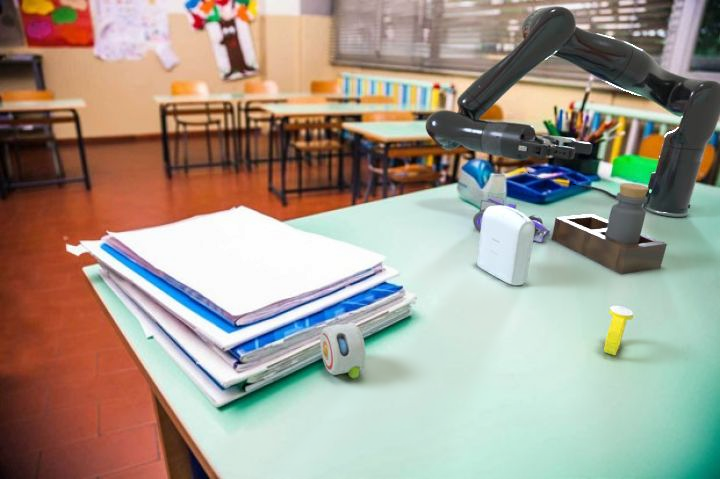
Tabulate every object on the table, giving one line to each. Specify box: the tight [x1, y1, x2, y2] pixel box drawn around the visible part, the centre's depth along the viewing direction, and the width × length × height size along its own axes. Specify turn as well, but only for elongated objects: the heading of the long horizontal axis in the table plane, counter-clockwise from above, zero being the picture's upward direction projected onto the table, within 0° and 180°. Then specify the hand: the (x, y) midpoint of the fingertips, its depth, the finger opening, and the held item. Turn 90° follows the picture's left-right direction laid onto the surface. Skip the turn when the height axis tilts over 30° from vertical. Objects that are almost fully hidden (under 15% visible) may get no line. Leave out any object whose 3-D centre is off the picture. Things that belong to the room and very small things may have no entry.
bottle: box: [605, 182, 649, 245], centre depth 94 cm, size 6×6×15 cm
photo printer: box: [476, 205, 536, 286], centre depth 86 cm, size 10×4×12 cm, turn 26°
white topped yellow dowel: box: [603, 305, 634, 356], centre depth 65 cm, size 6×3×6 cm, turn 144°
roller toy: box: [319, 322, 367, 379], centre depth 59 cm, size 4×6×6 cm
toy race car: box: [472, 195, 551, 243], centre depth 109 cm, size 10×15×6 cm, turn 57°
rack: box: [551, 213, 668, 275], centre depth 99 cm, size 18×10×5 cm, turn 21°
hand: (582, 151), depth 96 cm, fingers open, 8 cm apart
